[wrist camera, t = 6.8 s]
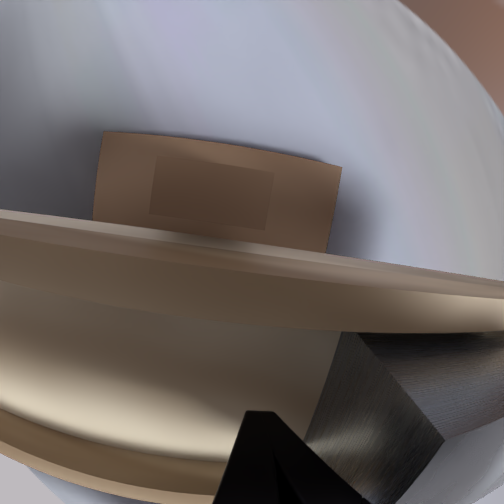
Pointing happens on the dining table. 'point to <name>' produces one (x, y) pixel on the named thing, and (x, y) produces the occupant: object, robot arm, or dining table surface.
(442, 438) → the block
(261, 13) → the dining table surface
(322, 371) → the beam
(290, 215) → the stand
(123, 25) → the dining table surface
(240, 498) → the robot arm
